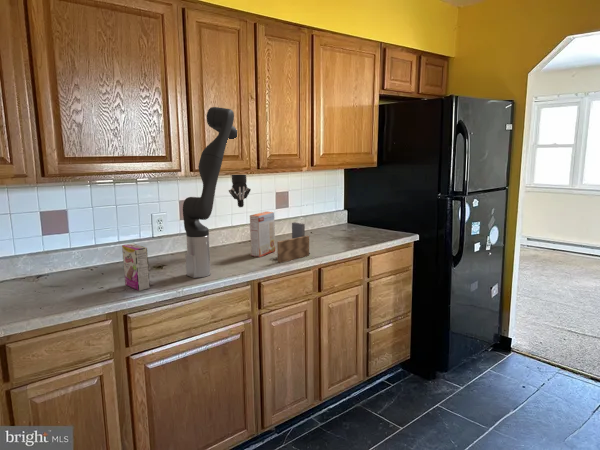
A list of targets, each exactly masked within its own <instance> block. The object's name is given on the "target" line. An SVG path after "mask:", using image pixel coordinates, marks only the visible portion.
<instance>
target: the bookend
mask: <svg viewBox="0 0 600 450" xmlns="http://www.w3.org/2000/svg"><path fill="white" fill-rule="evenodd" d="M305 227H306V226H305V223H302V222H301V223H300V222H291V239H293V238H298V237H302V236H306V234H305ZM310 254H311V253H310V252H309V255H310Z"/></svg>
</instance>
